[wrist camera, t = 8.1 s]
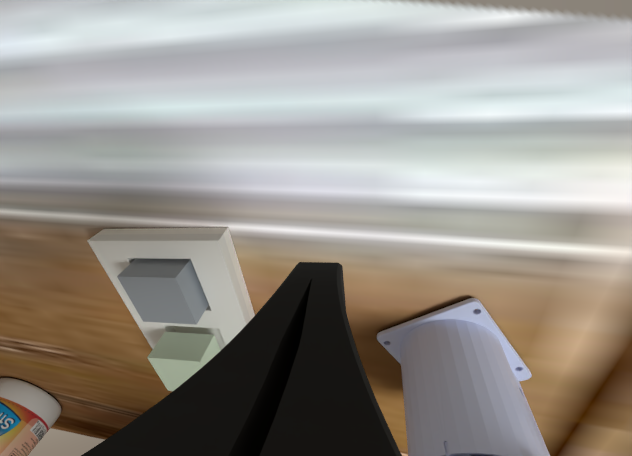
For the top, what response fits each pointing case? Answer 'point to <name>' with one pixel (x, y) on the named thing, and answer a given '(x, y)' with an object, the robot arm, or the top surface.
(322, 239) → the top surface
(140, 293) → the key slate
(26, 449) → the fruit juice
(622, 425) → the top surface
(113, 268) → the keypad
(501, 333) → the robot arm
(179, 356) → the key sage
